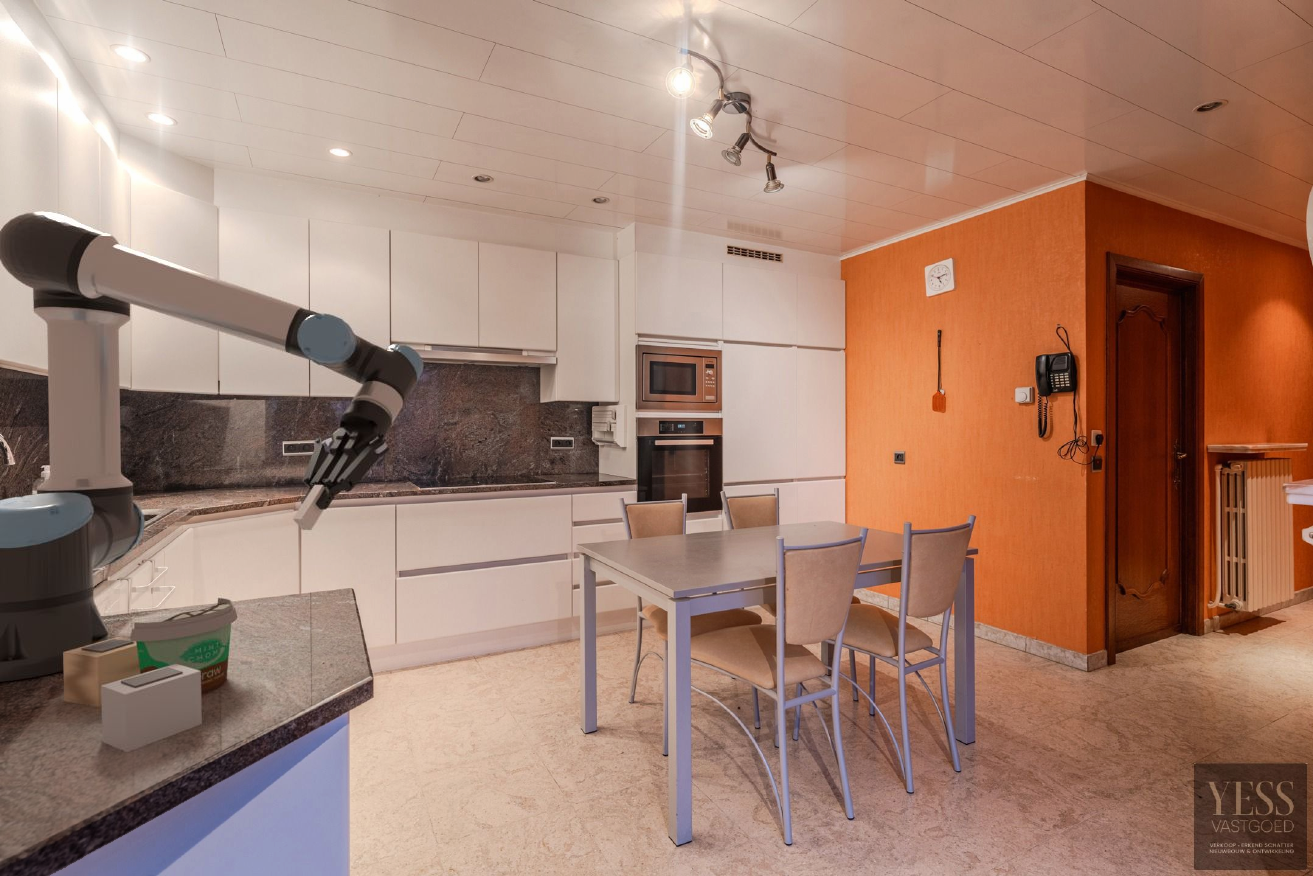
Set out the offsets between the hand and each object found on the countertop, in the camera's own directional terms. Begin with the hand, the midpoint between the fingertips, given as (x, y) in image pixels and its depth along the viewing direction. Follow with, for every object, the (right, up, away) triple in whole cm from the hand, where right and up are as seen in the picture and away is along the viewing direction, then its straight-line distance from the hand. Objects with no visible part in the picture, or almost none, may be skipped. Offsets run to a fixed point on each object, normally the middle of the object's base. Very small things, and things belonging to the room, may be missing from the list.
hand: (302, 524), depth 96 cm
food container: (-5, -19, -15) cm, 24 cm away
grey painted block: (-2, -19, -26) cm, 32 cm away
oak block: (-15, -19, -16) cm, 29 cm away
